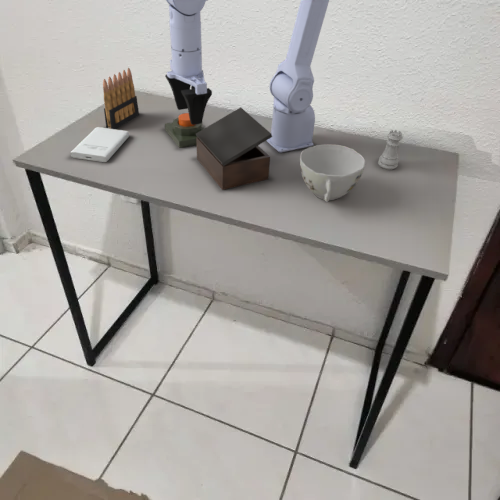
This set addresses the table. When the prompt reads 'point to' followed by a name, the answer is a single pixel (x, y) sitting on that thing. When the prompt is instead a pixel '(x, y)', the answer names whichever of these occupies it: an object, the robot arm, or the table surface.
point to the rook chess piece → (391, 151)
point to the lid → (233, 136)
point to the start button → (185, 120)
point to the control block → (183, 133)
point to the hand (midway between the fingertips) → (189, 115)
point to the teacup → (331, 170)
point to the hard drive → (100, 144)
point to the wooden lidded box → (235, 167)
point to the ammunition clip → (119, 100)
